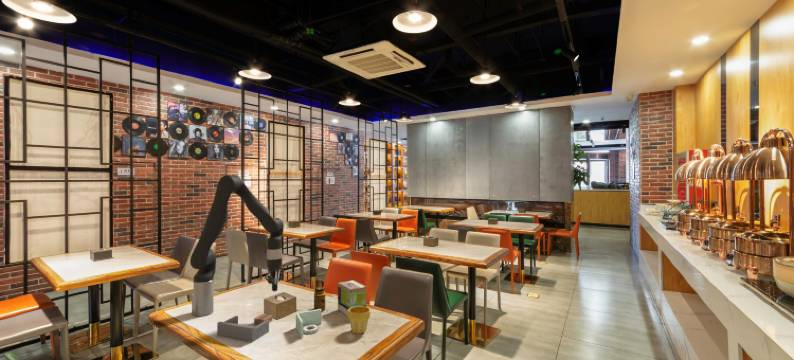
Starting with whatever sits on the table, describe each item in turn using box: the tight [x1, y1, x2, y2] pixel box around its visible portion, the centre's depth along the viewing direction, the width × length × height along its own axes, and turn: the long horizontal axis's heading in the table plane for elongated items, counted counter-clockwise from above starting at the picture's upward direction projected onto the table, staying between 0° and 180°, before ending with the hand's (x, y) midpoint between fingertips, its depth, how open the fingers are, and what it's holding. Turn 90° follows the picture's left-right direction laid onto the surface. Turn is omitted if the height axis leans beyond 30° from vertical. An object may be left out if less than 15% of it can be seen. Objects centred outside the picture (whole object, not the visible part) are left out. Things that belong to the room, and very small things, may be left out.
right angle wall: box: [295, 309, 322, 339], centre depth 161 cm, size 12×12×8 cm
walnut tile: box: [253, 313, 273, 326], centre depth 170 cm, size 6×6×3 cm
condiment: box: [307, 286, 328, 313], centre depth 186 cm, size 7×8×12 cm
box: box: [216, 315, 270, 343], centre depth 157 cm, size 19×11×6 cm, turn 73°
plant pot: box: [347, 306, 371, 335], centre depth 161 cm, size 10×10×10 cm
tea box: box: [337, 280, 367, 317], centre depth 184 cm, size 15×10×15 cm
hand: (274, 290), depth 178 cm, fingers closed
